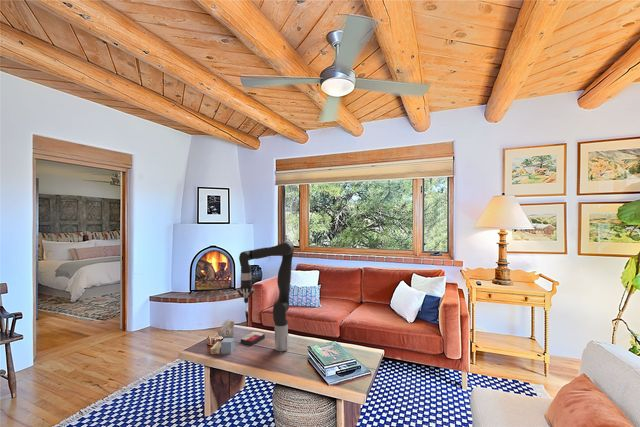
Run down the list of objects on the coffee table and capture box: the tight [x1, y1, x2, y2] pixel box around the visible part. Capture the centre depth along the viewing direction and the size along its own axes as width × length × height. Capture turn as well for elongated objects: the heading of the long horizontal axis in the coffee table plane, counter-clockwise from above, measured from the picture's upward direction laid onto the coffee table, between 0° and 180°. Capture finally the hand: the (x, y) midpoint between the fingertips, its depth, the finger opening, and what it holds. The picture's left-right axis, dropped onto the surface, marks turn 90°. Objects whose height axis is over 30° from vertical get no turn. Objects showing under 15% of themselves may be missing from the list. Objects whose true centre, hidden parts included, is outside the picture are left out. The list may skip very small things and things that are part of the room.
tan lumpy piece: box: [210, 341, 221, 355], centre depth 209 cm, size 6×12×4 cm, turn 177°
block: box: [220, 337, 235, 355], centre depth 207 cm, size 7×7×8 cm
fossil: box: [217, 319, 235, 339], centre depth 230 cm, size 16×9×15 cm, turn 156°
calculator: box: [240, 331, 266, 346], centre depth 225 cm, size 11×4×15 cm
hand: (246, 302), depth 216 cm, fingers closed
